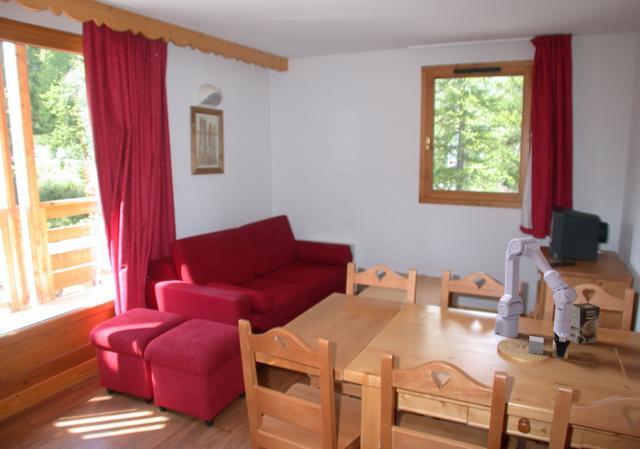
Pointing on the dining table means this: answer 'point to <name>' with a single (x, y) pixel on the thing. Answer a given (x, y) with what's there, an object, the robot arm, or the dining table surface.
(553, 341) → the maple block
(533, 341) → the grey block
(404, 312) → the dining table surface
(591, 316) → the coffee box
